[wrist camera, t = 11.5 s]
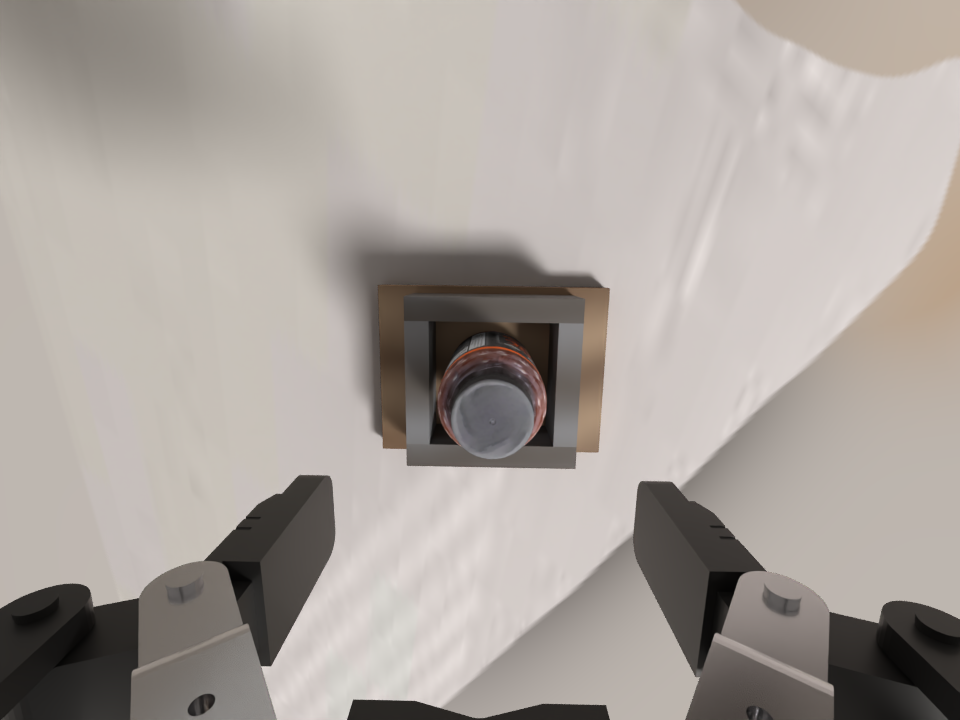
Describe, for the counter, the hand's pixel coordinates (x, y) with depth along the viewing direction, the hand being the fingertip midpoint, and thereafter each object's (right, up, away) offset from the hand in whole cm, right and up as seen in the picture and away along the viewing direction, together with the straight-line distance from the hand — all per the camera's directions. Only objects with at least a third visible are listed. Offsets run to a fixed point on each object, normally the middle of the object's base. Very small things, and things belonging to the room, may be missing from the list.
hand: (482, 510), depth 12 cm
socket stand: (+1, +3, +22) cm, 22 cm away
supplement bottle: (+1, +3, +21) cm, 21 cm away
